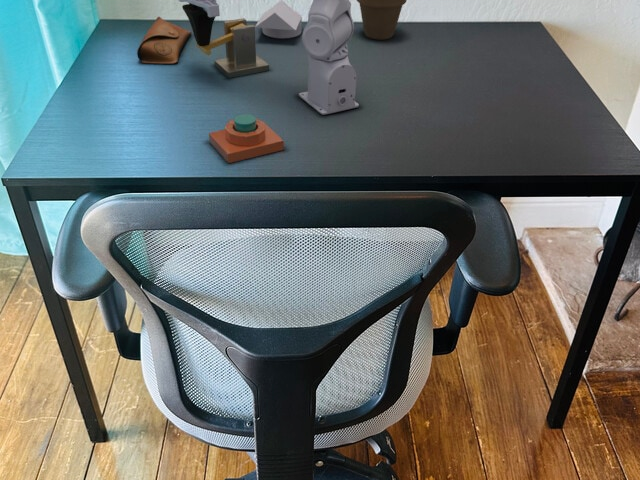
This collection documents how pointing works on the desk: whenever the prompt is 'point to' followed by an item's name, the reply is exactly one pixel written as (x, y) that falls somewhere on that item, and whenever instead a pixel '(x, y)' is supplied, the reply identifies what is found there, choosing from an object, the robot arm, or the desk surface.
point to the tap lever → (218, 41)
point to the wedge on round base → (280, 21)
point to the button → (245, 123)
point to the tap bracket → (240, 51)
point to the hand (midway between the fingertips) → (203, 44)
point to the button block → (245, 142)
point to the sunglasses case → (162, 43)
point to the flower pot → (380, 17)
